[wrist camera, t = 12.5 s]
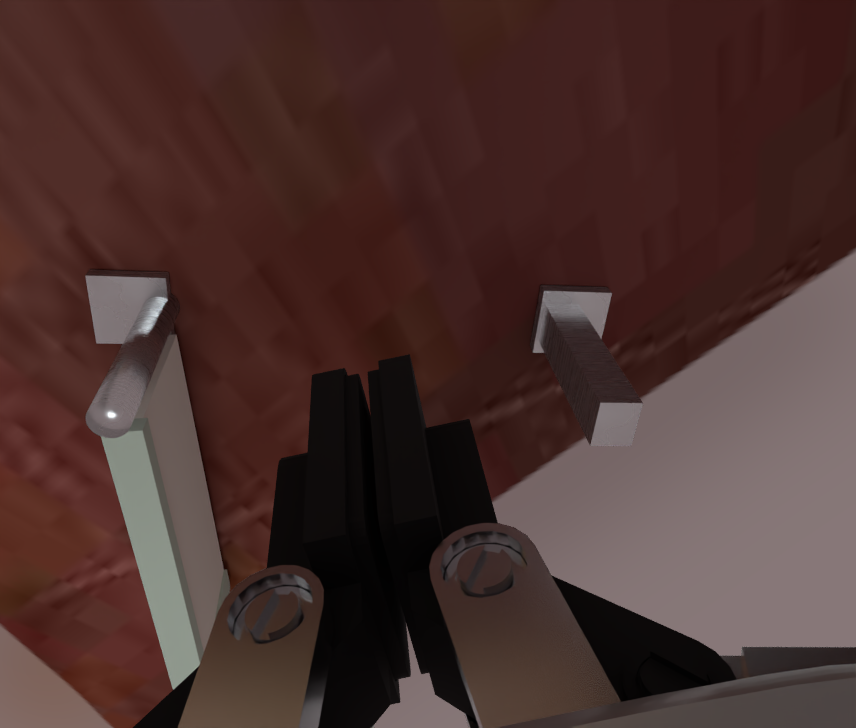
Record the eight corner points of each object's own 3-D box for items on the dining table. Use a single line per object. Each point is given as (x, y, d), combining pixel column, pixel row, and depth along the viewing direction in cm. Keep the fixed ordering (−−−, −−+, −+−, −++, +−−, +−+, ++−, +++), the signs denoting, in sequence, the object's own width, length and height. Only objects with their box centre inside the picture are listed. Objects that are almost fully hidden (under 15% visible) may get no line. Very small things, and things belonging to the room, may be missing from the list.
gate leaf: (146, 336, 40) (100, 433, 32) (180, 334, 40) (142, 430, 32) (203, 588, 49) (178, 708, 42) (230, 586, 50) (210, 706, 42)
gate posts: (100, 336, 40) (28, 458, 31) (89, 269, 38) (9, 378, 29) (594, 347, 44) (663, 459, 35) (607, 287, 42) (685, 388, 33)
